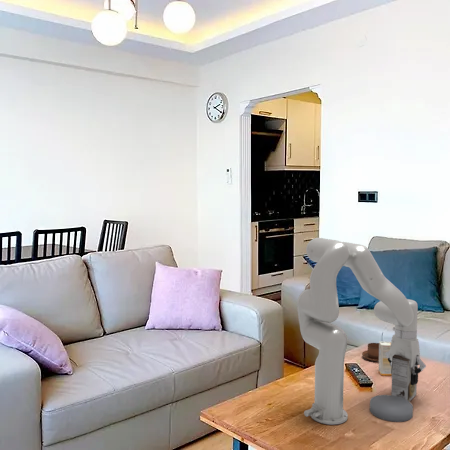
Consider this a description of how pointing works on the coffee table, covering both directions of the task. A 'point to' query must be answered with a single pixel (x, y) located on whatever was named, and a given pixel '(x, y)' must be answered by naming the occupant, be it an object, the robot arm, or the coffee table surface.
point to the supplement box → (384, 359)
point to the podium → (391, 408)
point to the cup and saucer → (372, 352)
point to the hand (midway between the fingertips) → (404, 380)
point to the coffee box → (402, 378)
